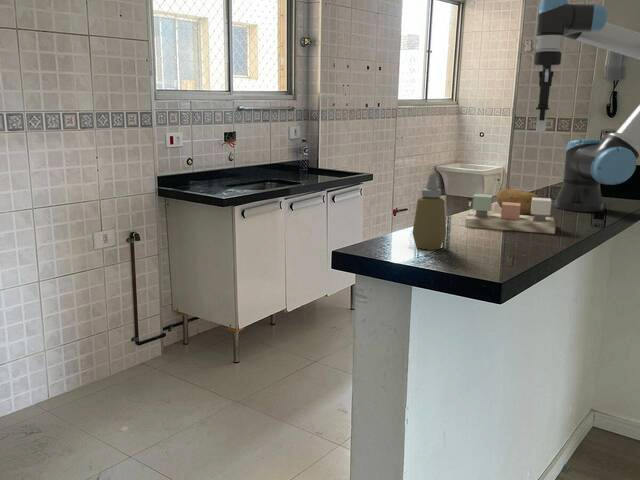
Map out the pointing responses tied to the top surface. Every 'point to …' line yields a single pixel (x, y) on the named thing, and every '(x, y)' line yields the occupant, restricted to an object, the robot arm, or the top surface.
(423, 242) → the squeeze bottle
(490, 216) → the board
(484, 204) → the block sage
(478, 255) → the top surface
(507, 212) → the block terracotta
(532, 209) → the block cream
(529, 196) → the potato
